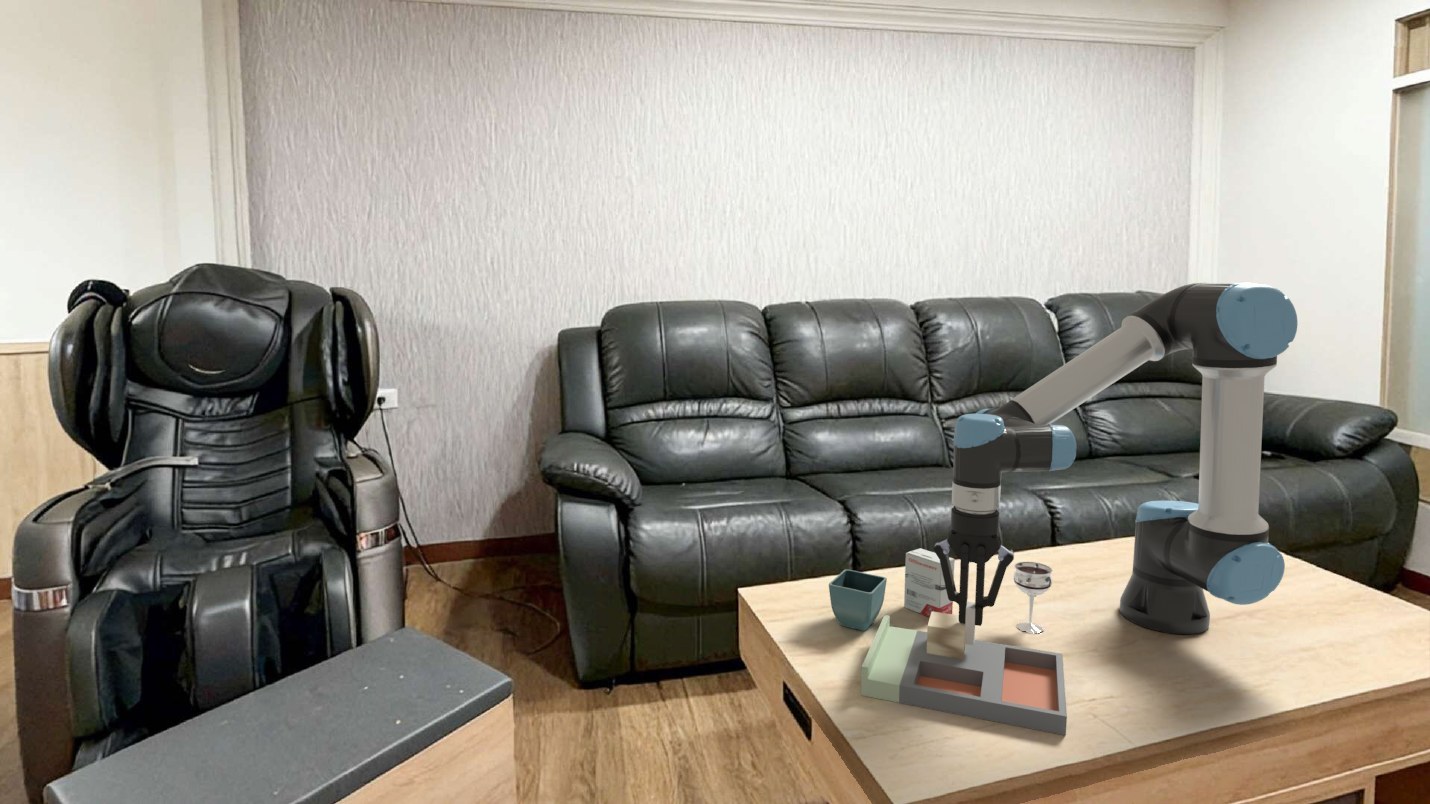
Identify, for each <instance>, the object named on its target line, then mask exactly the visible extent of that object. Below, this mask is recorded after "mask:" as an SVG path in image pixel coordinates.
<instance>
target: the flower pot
mask: <svg viewBox="0 0 1430 804" xmlns="http://www.w3.org/2000/svg"><path fill="white" fill-rule="evenodd" d="M887 579H888V578H887V577H886V576H881V575H877V574H876V575H875V574H871V573H867V572H865V573H864V572H861V571H858V570H852V569H844V570H843V571H841V572H840V573H839V574H838V575H837V576H836V577H835V578H834V579H833V580H831V581H830V582H829V583H828V589H829V590H828V591H829V597H830V599H829V600H830V605H831V609H832V613H833V615H834V617H835V619H836V620H837V622H838V624H840V626H842V627H846V628H850V629H854V630H859V631H862V632H863V631H865V632H866V631H867V630H868V629H869V627H870V626H871V625H872V624H873V623H874V621H875V620H876V619H877V617H878V616H879V614H880V612H881V609H882V607H883V604H884V600H885V594H886V587H887V582H888V581H887Z"/></svg>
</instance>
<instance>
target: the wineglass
mask: <svg viewBox="0 0 1430 804" xmlns="http://www.w3.org/2000/svg"><path fill="white" fill-rule="evenodd" d="M1013 567H1014V569H1015V571H1014V573H1013V581H1014V584H1015V586H1016V587H1017V588H1018V590H1020V592H1022V593H1024V594H1026V595H1027V597H1028V598H1029V603H1028V604H1029V607H1028V608H1029V610H1028V611H1029V614H1028V621H1022V623H1021V622H1018V623H1019V624H1018V623H1017V624H1016V625H1015V628H1016V629H1017V628H1019V629H1020V630H1019V629H1018V630H1019V631H1020V632H1022V631H1026V632H1029V633H1030V635H1031V634H1032V635H1039V634H1038V633H1040V632H1041V631H1044V632H1045V629H1044V630H1043V629H1042V628H1044V627H1043V626H1042V627H1041V625H1040V626H1039V623H1038V624H1037V623H1034V622H1032V620H1033V611H1034V600H1035V598H1036V597H1037V596H1042V595H1044V594H1045V593H1046V592H1048V591H1049V590H1050V588H1051V587H1052V584H1053V578H1052V573H1053V569H1052V567H1050V565H1046V564H1043V563H1040V562H1035V561H1020V562H1017V563H1015V564H1014V566H1013ZM1016 626H1017V627H1016ZM1029 633H1028V634H1029ZM1035 633H1037V634H1035ZM1040 634H1041V633H1040Z"/></svg>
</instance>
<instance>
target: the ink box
mask: <svg viewBox="0 0 1430 804" xmlns="http://www.w3.org/2000/svg"><path fill="white" fill-rule="evenodd" d="M949 560H950V564H951V569H952V573H953V578H955V563H956V562H955V558H953V557H949ZM904 563H905V565H904V566H905V568H904V571H905V572H904V595H903V596H904V600H903V602H904V603H903V607H904V608H905V609H908V610H911V611H913V612H916V613H918V614H920V615H923V616H926V617H928V618H930V616H931V612H932V611H933V612H939V613H946V614H953V608H954V607H953V605H954V603H953V602H954V601H950V600H949V599H948V595H947V591H946V586H945V582H944V577H943V573H942V568H941V564H940V559H939V558H938V556H937V555H936V553H935V552H934V551H930V550H927V549H924V548H921V547H920V548H915V549H913V550H910V551H908V552H905V562H904Z"/></svg>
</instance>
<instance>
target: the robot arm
mask: <svg viewBox="0 0 1430 804" xmlns="http://www.w3.org/2000/svg"><path fill="white" fill-rule="evenodd" d="M1297 332H1298V315H1297V311H1296V308H1295V306H1294V304H1293V302H1292V301H1291V299H1290V298H1289V297H1288V296H1287V295H1285V294H1284V293H1283V291H1281V290H1280V289H1278V288H1276V287H1274V286H1271V285H1267V284H1259V283H1254V282H1244V281H1243V282H1223V283H1221V282H1219V283H1218V282H1217V283H1216V282H1215V283H1214V282H1213V283H1210V282H1194V283H1189V284H1185V285H1182V286H1179V287H1176V288H1174V289H1172V290H1170V291H1168V292H1166V293H1163V294H1162V295H1160V296H1158V297H1156V298H1154V299H1153V300H1151V301H1149V302H1147V303H1146V304H1144V305H1143V306H1140V308H1138V309H1136V310H1135V311H1134V312H1132V313H1130V314H1128V315H1127V316H1126V317H1124V318H1123V320H1122V321H1121V327H1119V328H1118V329H1116V330H1115V331H1113V332H1112V333H1110V334H1109V335H1107V336H1106V337H1104V338H1102V339H1101V340H1099V341H1098V342H1096V343H1095V344H1094V345H1092V346H1090V347H1089V348H1087V349H1086V350H1084V351H1083V352H1081V353H1080V354H1079V355H1077V356H1075V357H1073V358H1072V359H1071V360H1069V361H1068V362H1066V363H1065V364H1063V365H1061V366H1060V367H1058V368H1057V369H1056V370H1054V371H1053V372H1051V373H1049V374H1048V375H1046V376H1045V377H1044V378H1042V379H1040V380H1039V381H1038V382H1036V383H1034V384H1033V385H1031V386H1029V387H1028V388H1026V389H1025V390H1024V391H1022V392H1021V393H1019V394H1018V395H1016V396H1015V397H1013V398H1011V399H1010V400H1008V401H1007V402H1005V403H1004V404H1002V405H1000V407H998V408H994V407H992V408H983V409H980V410H978V411H977V412H975V413H967V414H962V415H960V416H958V418H957V419H956V422H955V426H954V432H953V433H954V434H953V441H952V445H953V462H952V463H953V464H952V465H953V471H952V474H953V475H952V484H951V485H952V488H951V489H952V490H951V504H952V505H953V507H952V508H951V512H950V532H949V533H948V535H947V537H946V539H945V540H943V541H936V542H935V544H934V546H933V552H934V553H936V555H937V556H938V558H939V559H940V564H941V568H942V573H943V577H944V582H945V586H946V591H947V595H948V599H949V600H950V601H953V602H954V603H956V604H957V605H958V615H959V623H964V624H965V644H967V645H973V646H974V640H976V639H975V637H976V626H979V627H981V626H982V624H983V618H984V617H983V615H984V608H986V607H989V608H991V607H992V608H993V606H994V605H995V603H996V600H997V598H998V594H999V591H1000V589H1001V586H1002V583H1003V579H1004V577H1005V573H1006V570H1007V568H1008V567H1009V566H1010V565H1011V563H1012V562H1013V561H1014V559H1015V552H1014V550H1013V549H1007V548H1006V547H1005V546H1004V545H1002V540H1001V539H1000V537H999V536H1000V535H999V527H1000V512H999V510H998V509H999V508H1000V506H1001V504H1000V503H1001V491H1002V490H1001V487H1002V483H1001V482H1002V473H1016V472H1017V473H1019V472H1021V473H1023V472H1026V473H1027V472H1052V471H1053V472H1054V471H1059V470H1066V469H1068V468H1070V467H1071V466H1072V465H1073V463H1074V461H1075V460H1076V457H1077V441H1076V438H1075V435H1074V433H1073V432H1072V430H1071V429H1070V428H1069V427H1068V426H1067V425H1064V424H1053V423H1054V422H1056V421H1058V420H1059V419H1061V418H1062V417H1064V416H1065V415H1067V414H1068V413H1069V412H1071V411H1073V410H1074V409H1076V408H1077V407H1079V406H1080V405H1082V404H1083V403H1085V402H1087V401H1088V400H1090V399H1091V398H1093V397H1094V396H1096V395H1097V394H1099V393H1101V392H1103V390H1105V389H1107V388H1109V387H1110V386H1111V385H1112V384H1115V383H1116V382H1117V381H1119V380H1121V379H1122V378H1123V377H1125V376H1127V375H1128V374H1130V373H1131V372H1134V370H1136V369H1137V368H1139V367H1140V366H1142V365H1143V364H1145V363H1147V362H1148V361H1151V362H1158V361H1160V360H1162V359H1164V358H1165V357H1166V356H1168V355H1170V354H1172V353H1176V352H1178V351H1184V350H1192V363H1191V364H1192V367H1194V368H1195V369H1196V371H1198V372H1199V373H1200V374H1201V375H1202V381H1201V383H1202V384H1201V408H1200V409H1201V410H1200V411H1201V414H1200V415H1201V417H1200V442H1199V443H1200V446H1199V475H1198V477H1199V478H1198V479H1199V480H1198V502H1197V503H1196V502H1192V501H1190V502H1189V501H1181V500H1151V501H1146V502H1143V503H1142V504H1140V505H1139V506H1138V508H1137V513H1136V517H1135V521H1134V523H1135V529H1134V530H1135V531H1134V545H1133V546H1134V548H1133V559H1132V572H1131V576H1130V577H1129V580H1128V581H1127V584H1126V587H1125V588H1124V589H1123V592H1122V594H1121V596H1120V600H1119V612H1120V613H1121V616H1123V618H1126V619H1127V620H1128V621H1130V622H1132V623H1134V624H1136V625H1138V626H1142V627H1143V628H1147V629H1150V630H1154V631H1158V632H1162V633H1167V634H1168V633H1169V634H1176V635H1177V634H1178V635H1193V634H1199V633H1203V632H1206V631H1207V630H1208V629H1209V628H1210V620H1211V613H1210V610H1209V606H1208V603H1207V599H1206V596H1205V592H1204V591H1206V592H1208V593H1209V594H1210V595H1211V596H1213V597H1215V598H1217V599H1220V600H1224V601H1226V602H1228V603H1230V604H1233V605H1240V606H1241V605H1242V606H1244V605H1245V606H1246V605H1251V604H1252V605H1253V604H1254V603H1258V602H1260V601H1262V600H1264V599H1266V598H1267V597H1269V595H1270V594H1271V593H1272V592H1274V591H1276V589H1277V588H1278V586H1279V584H1280V583H1281V581H1282V580H1283V578H1284V573H1285V565H1286V564H1285V559H1284V556H1283V555H1282V553H1281V552H1280V551H1279V550H1278V549H1277V548H1276V546H1275V545H1272V544H1271V543H1269V532H1270V531H1269V530H1270V529H1269V528H1270V527H1269V523H1268V522H1267V521H1266V520H1265V519H1264V518H1263V517H1262V516H1261V515H1260V514H1259V506H1260V505H1259V503H1260V484H1261V463H1262V462H1261V461H1262V460H1261V459H1262V440H1263V439H1262V438H1263V422H1264V421H1263V417H1264V416H1263V415H1264V400H1265V399H1264V397H1265V396H1264V394H1265V376H1266V375H1267V374H1268V373H1269V372H1271V371H1272V370H1274V368H1276V367H1277V363H1278V356H1280V355H1282V353H1284V352H1285V351H1287V350H1288V348H1289V347H1290V345H1289V344H1290V343H1292V342H1294V340H1295V338H1296V335H1297ZM950 548H951V550H952V551H953V553H954V554H955V555H956V557H957V559H958V560H959V561H960V563H959V564H960V566H959V568H960V569H959V571H960V572H959V592H958V591H957V588H956V587H957V586H956V583H955V579H954V578H955V577H954V578H953V573H952V569H951V564H950V560H949V553H950ZM997 552H998V556H997V559H998V560H999V561H998V564H997V567H996V570H995V573H994V576H993V578H992V583H991V585H990V589H989V591H988V594H987V595H986V596H984V595H985V577H986V576H985V575H986V574H985V572H986V563H988V562H989V561H990V559H992V558H993V557H994V555H996V554H997ZM970 563H973V564H976V574H975V575H976V578H975V599H974V601H975V602H972V601H968V598H969V596H968V595H969V593H968V592H969V573H970V572H969V571H970Z"/></svg>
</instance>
